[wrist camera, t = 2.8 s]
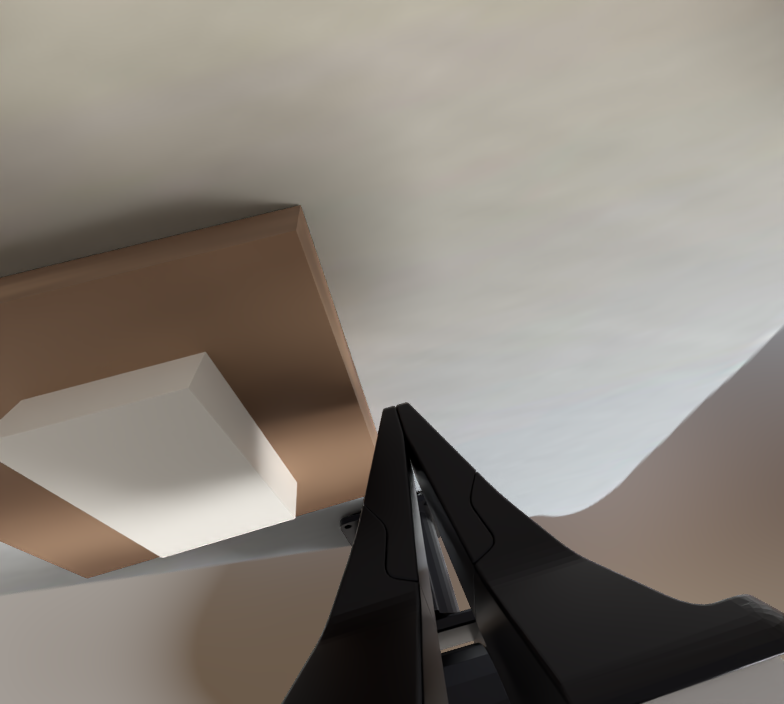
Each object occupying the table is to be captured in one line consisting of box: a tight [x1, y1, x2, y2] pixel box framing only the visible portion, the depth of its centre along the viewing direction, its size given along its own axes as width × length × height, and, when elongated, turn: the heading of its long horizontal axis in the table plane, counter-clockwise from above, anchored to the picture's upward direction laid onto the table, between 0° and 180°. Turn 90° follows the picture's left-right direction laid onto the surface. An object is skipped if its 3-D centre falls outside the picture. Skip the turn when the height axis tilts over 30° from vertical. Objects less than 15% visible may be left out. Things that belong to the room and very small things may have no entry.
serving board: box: [0, 205, 378, 578], centre depth 12 cm, size 12×14×3 cm
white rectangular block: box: [0, 352, 297, 558], centre depth 10 cm, size 7×5×2 cm
